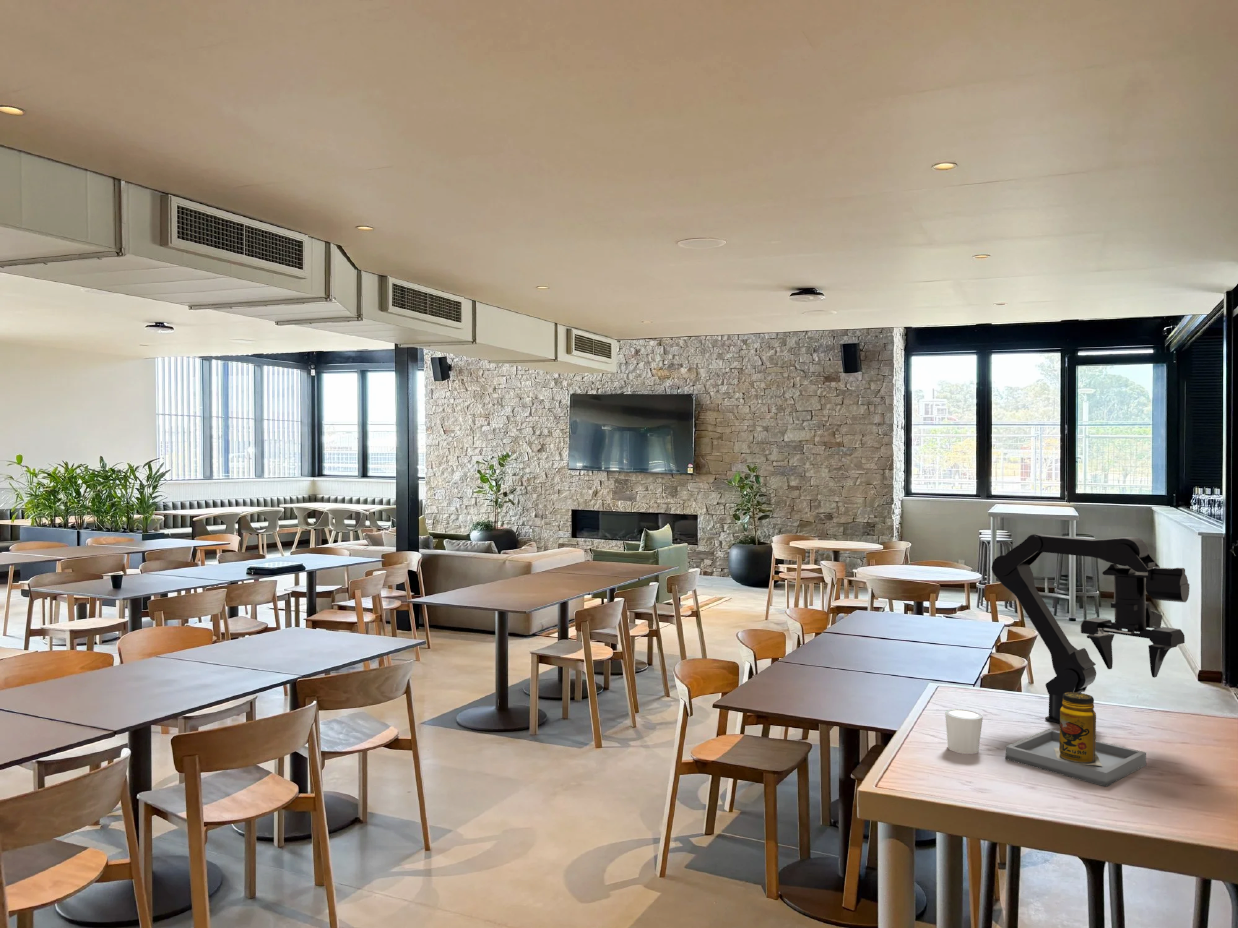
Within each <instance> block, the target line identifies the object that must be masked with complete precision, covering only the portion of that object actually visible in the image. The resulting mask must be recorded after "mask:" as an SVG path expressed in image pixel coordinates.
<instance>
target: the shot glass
mask: <svg viewBox="0 0 1238 928" xmlns="http://www.w3.org/2000/svg"><path fill="white" fill-rule="evenodd" d="M944 715H945V725H946V726H945V727H946V739H947V740H946V741H947V748H948V750H950V751H952V752H954V753H958V754H963V755H976V754H977V753H979V751H980V750H979V749H980V743H981V736H982V727H983V717H984V716H983V714H981V713H980V712H977V711H973V710H969V709H968V710H967V709H958V708H957V709H956V708H955V709H949V710H946V711H945V714H944Z"/></svg>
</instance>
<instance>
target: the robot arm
mask: <svg viewBox="0 0 1238 928" xmlns="http://www.w3.org/2000/svg"><path fill="white" fill-rule="evenodd" d="M1043 553H1047V554H1048V553H1049V554H1059V555H1069V556H1077V557H1078V556H1079V557H1090V558H1094V559H1095V558H1096V559H1097V560H1101V561H1103V562H1107V563H1110V564H1109V566H1108V567H1107V568H1106V569H1105V570H1103V571H1102V572H1101V573H1102V576H1111V577H1112V576H1113V602H1110V608H1113V609H1114V621H1112V620H1111V619H1107V618H1098V617H1093V618H1087V619H1083V620H1082V621H1081V624H1080V633H1081V634H1085V635H1086V639H1090V641H1091V643H1092V644H1093V646H1094V647H1095V648H1096V650H1097V651H1098V653H1099V655H1100V658H1101V659H1102V660H1103V663H1104V665H1105V667H1106V668H1107V670H1112V669H1113V663H1114V662H1113V661H1114V660H1113V659H1114V658H1113V640H1114V637H1115V635H1123V636H1130V637H1136V638H1143V639H1149V641H1150V642H1151V643H1152V644H1148V655H1149V656H1148V657H1149V665H1150V674H1151V677H1152V678H1157V677H1158V675H1159V673H1160V670H1161V667H1162V664H1163V662H1164V660H1165V658H1166V655H1167V654H1168V652H1169V651H1170V650H1172V649H1174V648H1177V647H1178V646H1179V645H1182V644H1185V641H1186V640H1185V634H1184V632H1183V631H1182V629H1180V628H1175V627H1174V628H1173V627H1168V626H1167V627H1166V626H1162V621H1163V614H1160V613H1158V612H1157V611H1154V610H1152V609H1151V604H1150V602H1147V601H1146V600H1147V599H1146V598H1147V597H1146V594H1147V596H1150V597H1151V598H1152V600H1153V601H1163V602H1164V601H1165V602H1174V603H1175V602H1177V603H1187V601H1189V600H1188V599H1189V596H1190V583H1189V580H1188V577H1187V576H1188V575H1187V574H1186V569H1185V568H1184V567H1174V568H1171V567H1160V565H1159V564H1158V563H1157V561H1156V560H1155V559H1154V557H1152V556H1151V554H1150V553H1149V549H1148V545H1147V543H1145V541H1144V540H1143V539H1141V538H1140V537H1136V536H1128V537H1127V536H1126V537H1115V538H1103V539H1095V538H1084V537H1070V536H1061V535H1048V534H1045V533H1035V534H1030V535H1028V537H1026V538H1025V539H1024V540H1023V541H1022V542H1020V543H1019V544H1017V545H1016V546H1015V547H1014V548H1012V549H1011V550H1009V551H1008V552H1006V553H1005V554H1001V555H999V556H996V558H994V559H993V561H992V565H991V572H992V574H993V575H994V577H995V578H996V579H997V580H998V581H999V582H1000V584H1001V585H1002V586H1003V587H1004V588H1006V589H1007V590H1008V591H1009V592H1011V593H1012V594H1013V595H1014V596H1015V597H1016V599H1017V600H1018V602H1019V604H1020V606H1021V607H1022V609H1023V611H1024V612H1025V614H1026V615H1027V617H1028V619H1029V620H1030V622H1031V624H1032V626H1033V627H1034V628H1035V630H1036V632H1037V634H1038V635H1039V637H1040V638H1041V641H1043V643H1044V645H1045V647H1046V648H1047V649H1048V652H1049V654H1050V657H1051V663H1052V669H1053V671H1054V673H1055V676H1054V677H1053V678H1052V679H1050V680H1048V682H1046V683H1045V688H1046V691H1047V693H1048V716H1045V717H1044V720H1045V721H1047V722H1048V721H1049V722H1053V723H1057V724H1060V709H1061V707H1062V706H1063V704H1062V702H1063V697H1062V696H1063V694H1064V693H1068V692H1076V693H1085V692H1086V691H1087V688H1088V686H1090V685H1092V684H1094V682H1095V680H1096V676H1097V670H1096V668H1095V666H1096V664H1097V663H1095V662H1094V661H1093V660H1092V659H1091V657H1090V655H1089V652H1088V651H1087V649H1086V648H1085V647H1082V648H1080V649H1078V648H1076V647H1075V646H1074V645H1073V644H1071V642H1070V640H1069V639H1068V638H1067V636H1066V634H1065V633H1064V631H1063V629H1062V628H1061V626H1060V624H1059V623H1058V621H1057V619H1056V618H1055V616H1054V615H1053V613H1052V611H1051V610H1050V608H1049V607H1048V605H1047V604H1046V602H1045V600H1044V599H1043V597H1042V596H1041V594H1040V593H1039V591H1038V589H1037V588H1036V586H1035V579H1034V573H1033V570H1032V569H1031V566H1032V564H1034V563H1035V562H1036V561H1037V560H1038V559H1039V558H1040V557H1041V555H1043ZM1120 566H1122V567H1120Z"/></svg>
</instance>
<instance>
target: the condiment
mask: <svg viewBox="0 0 1238 928" xmlns="http://www.w3.org/2000/svg"><path fill="white" fill-rule="evenodd" d="M1062 697H1063V702H1062V704H1063V706H1062V707H1061V709H1060V723H1059V732H1060V736H1059V738H1060V740H1059V744H1060V746H1059V748H1054V750H1055V753H1056V756H1057V758H1058V759H1062V760H1066V761H1069V762H1073V763H1077V764H1085V765H1098V766H1102V764H1101V762H1100V760H1099V757H1098V756H1097V753H1096V752H1095V749H1096V748H1095V745H1096V738H1097V734H1096V731H1097V713H1096V711H1095V710H1094V708H1095V705H1094V703H1095V699H1094V697H1093V695H1091V694H1087V693H1085V692H1081V693H1076V692H1068V693H1064V694H1063V696H1062Z"/></svg>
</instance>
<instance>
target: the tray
mask: <svg viewBox="0 0 1238 928" xmlns="http://www.w3.org/2000/svg"><path fill="white" fill-rule="evenodd" d="M1059 736H1060V730H1054V729H1050V728H1049V729H1045V730H1043V731H1041V732H1039V733H1038V732H1037V733H1035V734H1033V735H1031V736H1028V737H1025V738H1022V739H1021V740H1018V741H1016V742H1013V743H1011V744H1007V745H1005V756H1004V757H1005V760H1007V759H1009V760H1008V761H1010V762H1014V761H1015V762H1016V763H1018V762H1019V764H1022V765H1026V766H1030V767H1032V768H1037V769H1041V770H1044V771H1048V772H1051V773H1053V774H1054V773H1055V774H1059V775H1063V776H1065V777H1069V778H1072V777H1073V779H1076V780H1079V779H1080V781H1084V782H1086V783H1087V782H1088V783H1091V784H1094V785H1098V786H1102V787H1108V786H1110V785H1112V784H1114V783H1116V782H1117V781H1119V780H1121V779H1123V778H1125V777H1127V776H1129V775H1130V774H1132V773H1134V772H1136V771H1138V770H1140V769H1141V768H1143V767H1145V766H1146V765H1147V752H1145V751H1142V750H1137V749H1133V748H1128V747H1125V746H1121V745H1117V744H1113V743H1108V742H1104V741H1100V740H1096V745H1095V748H1096V749H1095V752H1096V753H1097V756H1098V757H1099V760H1100V762H1101V764H1102V766H1098V765H1085V764H1077V763H1073V762H1069V761H1066V760H1062V759H1058V758H1057V756H1056V753H1055V750H1054V748H1059V746H1060V744H1059V740H1060V738H1059Z"/></svg>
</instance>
